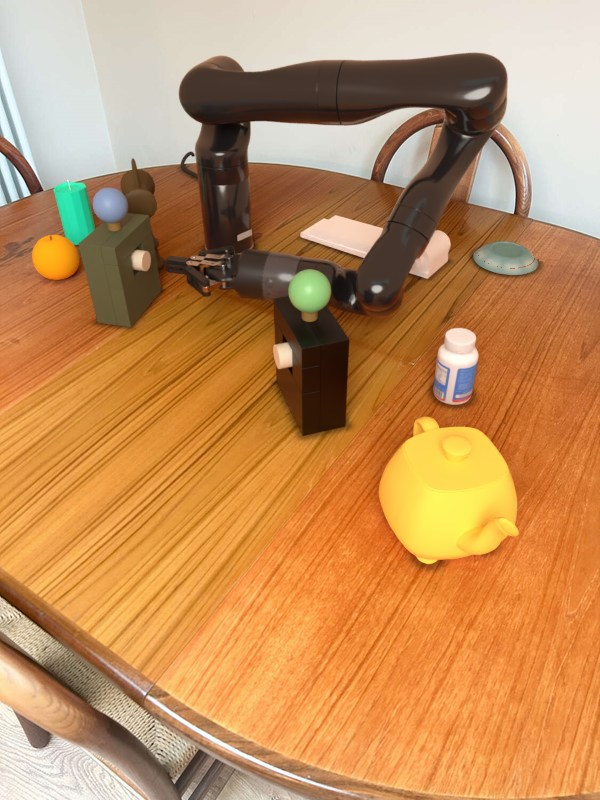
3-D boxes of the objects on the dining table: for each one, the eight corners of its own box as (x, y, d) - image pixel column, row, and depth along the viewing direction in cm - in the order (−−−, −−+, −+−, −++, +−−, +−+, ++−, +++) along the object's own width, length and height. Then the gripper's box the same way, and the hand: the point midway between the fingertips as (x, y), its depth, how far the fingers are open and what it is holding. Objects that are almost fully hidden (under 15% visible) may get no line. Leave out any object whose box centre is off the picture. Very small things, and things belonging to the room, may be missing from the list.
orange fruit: (35, 288, 116) (23, 249, 111) (40, 267, 122) (29, 229, 117) (81, 283, 117) (72, 244, 112) (84, 262, 123) (75, 225, 118)
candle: (89, 246, 128) (75, 186, 121) (60, 243, 129) (45, 184, 122) (102, 232, 133) (89, 174, 125) (74, 230, 134) (60, 172, 126)
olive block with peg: (161, 291, 115) (143, 175, 102) (130, 327, 106) (106, 206, 93) (130, 286, 116) (108, 172, 103) (97, 322, 107) (68, 202, 94)
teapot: (461, 461, 82) (478, 381, 74) (551, 595, 67) (584, 513, 59) (357, 484, 79) (363, 403, 71) (427, 629, 64) (444, 547, 56)
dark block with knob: (302, 436, 86) (301, 301, 73) (276, 382, 94) (271, 253, 81) (345, 426, 87) (351, 292, 74) (315, 374, 96) (317, 246, 83)
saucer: (469, 234, 126) (468, 245, 127) (481, 264, 117) (479, 275, 118) (531, 234, 125) (529, 245, 127) (548, 264, 116) (545, 275, 118)
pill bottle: (473, 386, 93) (485, 328, 87) (468, 409, 89) (480, 351, 83) (435, 378, 95) (444, 321, 89) (428, 401, 91) (437, 343, 85)
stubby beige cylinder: (280, 374, 84) (279, 353, 82) (273, 360, 86) (272, 340, 84) (298, 370, 84) (298, 350, 82) (290, 356, 87) (290, 336, 85)
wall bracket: (324, 187, 130) (453, 223, 117) (328, 217, 136) (451, 255, 123) (295, 216, 125) (426, 257, 113) (300, 246, 131) (426, 288, 119)
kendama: (165, 253, 126) (149, 147, 113) (169, 276, 119) (152, 166, 106) (133, 256, 125) (113, 150, 112) (135, 281, 118) (114, 170, 105)
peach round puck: (152, 265, 106) (149, 247, 104) (143, 274, 104) (140, 256, 102) (138, 263, 107) (135, 245, 105) (130, 273, 105) (126, 254, 102)
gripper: (259, 320, 97) (152, 305, 101) (284, 277, 107) (185, 265, 111) (257, 275, 93) (144, 261, 96) (283, 235, 102) (180, 223, 106)
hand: (167, 263), depth 103 cm, fingers closed
